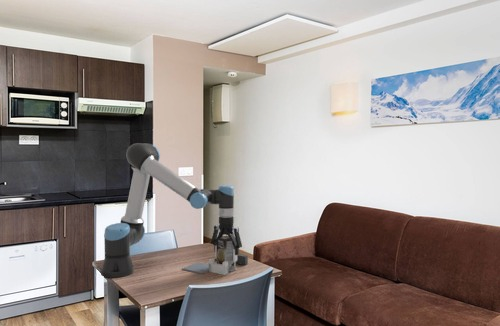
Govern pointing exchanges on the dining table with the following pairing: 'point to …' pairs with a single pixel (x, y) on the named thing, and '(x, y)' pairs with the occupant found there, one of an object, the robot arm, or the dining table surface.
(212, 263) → the clip jaw
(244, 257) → the tie bar
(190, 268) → the mat
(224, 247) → the coffee box
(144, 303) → the dining table surface
